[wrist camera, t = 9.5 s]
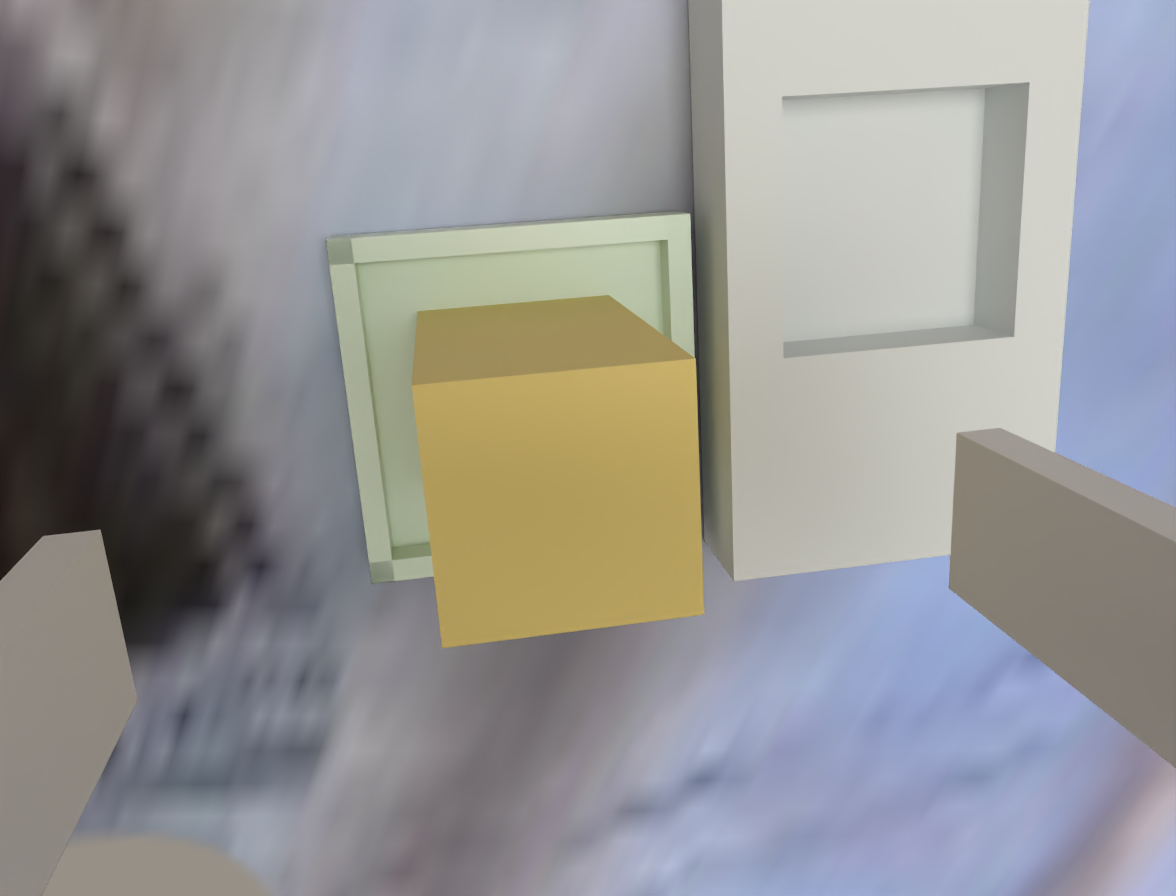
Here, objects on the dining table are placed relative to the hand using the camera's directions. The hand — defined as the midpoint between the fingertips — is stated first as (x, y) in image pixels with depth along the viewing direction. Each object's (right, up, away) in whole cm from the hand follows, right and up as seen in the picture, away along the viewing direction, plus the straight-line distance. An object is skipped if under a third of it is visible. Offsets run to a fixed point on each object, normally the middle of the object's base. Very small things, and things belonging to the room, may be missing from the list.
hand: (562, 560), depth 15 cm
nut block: (-1, +3, +11) cm, 12 cm away
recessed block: (+8, +8, +12) cm, 16 cm away
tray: (-1, +3, +12) cm, 12 cm away
